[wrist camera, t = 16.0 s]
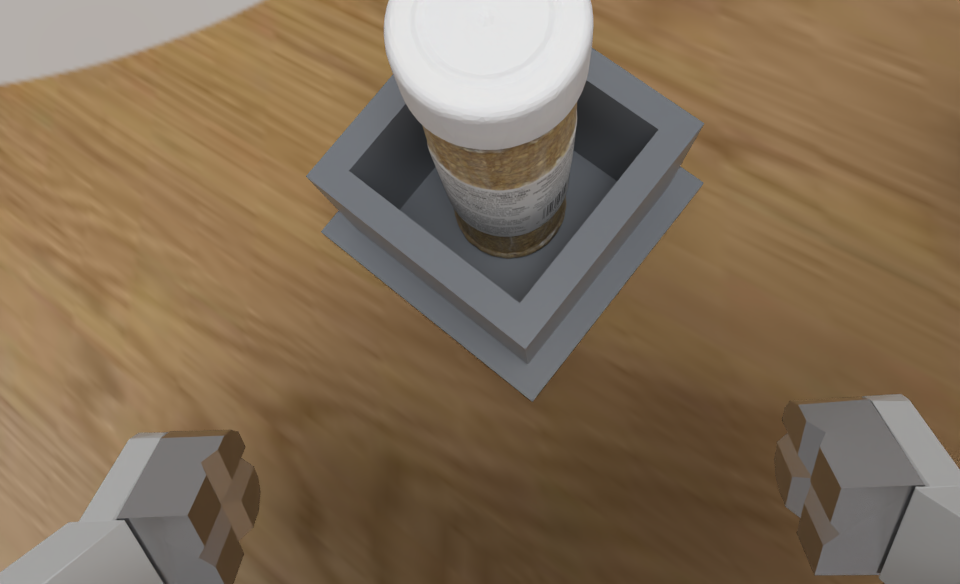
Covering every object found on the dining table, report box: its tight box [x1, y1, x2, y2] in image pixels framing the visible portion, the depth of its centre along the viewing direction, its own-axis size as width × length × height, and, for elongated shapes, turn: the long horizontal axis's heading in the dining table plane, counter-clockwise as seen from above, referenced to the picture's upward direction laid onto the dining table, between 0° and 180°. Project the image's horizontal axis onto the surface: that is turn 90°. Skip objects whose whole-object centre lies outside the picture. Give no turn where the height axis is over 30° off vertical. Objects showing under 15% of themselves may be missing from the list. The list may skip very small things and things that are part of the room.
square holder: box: [306, 48, 704, 402], centre depth 25 cm, size 11×11×7 cm
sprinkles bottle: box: [384, 0, 593, 259], centre depth 21 cm, size 5×5×13 cm
